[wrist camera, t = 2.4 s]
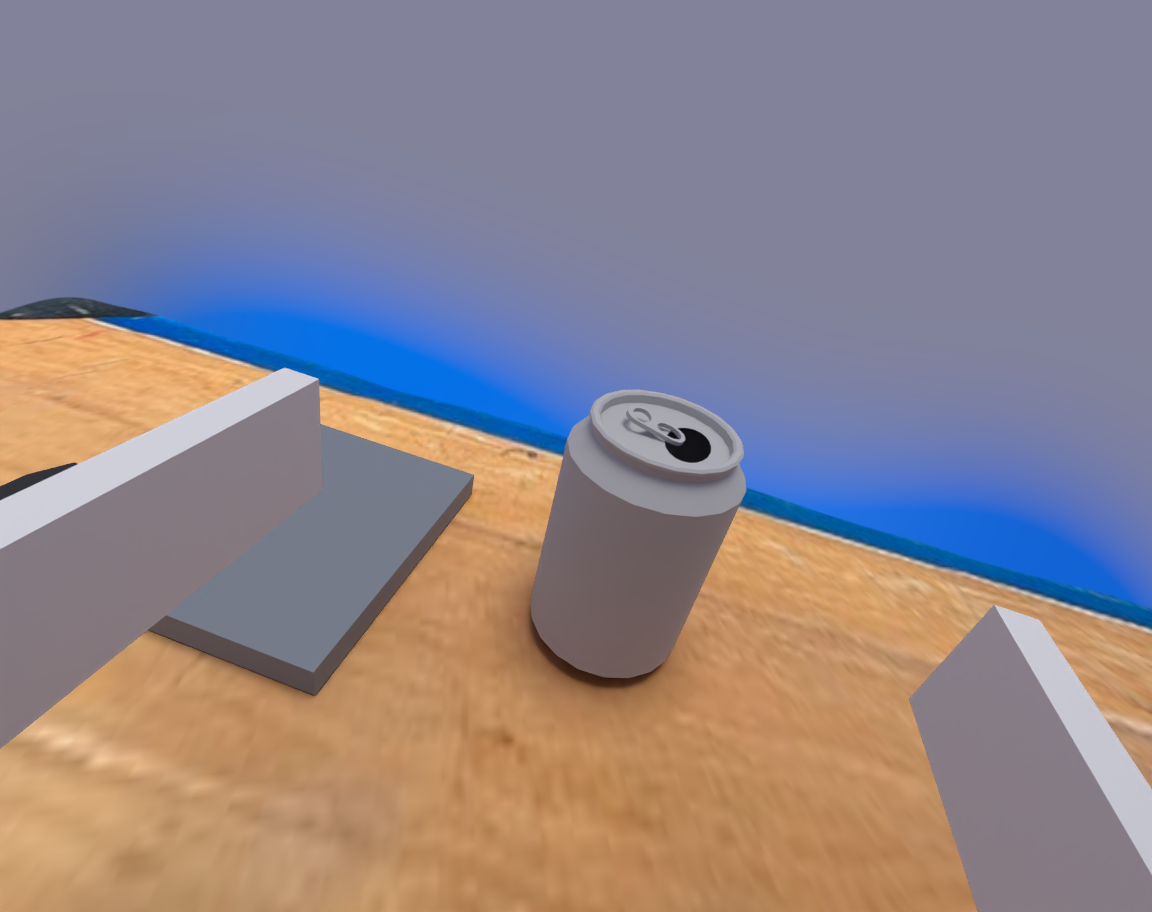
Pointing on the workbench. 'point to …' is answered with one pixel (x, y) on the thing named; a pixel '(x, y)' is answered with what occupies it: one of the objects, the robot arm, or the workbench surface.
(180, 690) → the workbench surface
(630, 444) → the can
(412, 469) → the slate board
